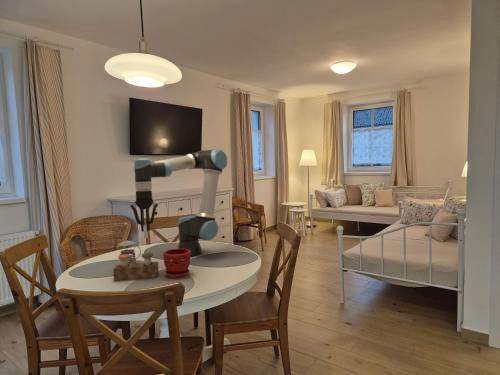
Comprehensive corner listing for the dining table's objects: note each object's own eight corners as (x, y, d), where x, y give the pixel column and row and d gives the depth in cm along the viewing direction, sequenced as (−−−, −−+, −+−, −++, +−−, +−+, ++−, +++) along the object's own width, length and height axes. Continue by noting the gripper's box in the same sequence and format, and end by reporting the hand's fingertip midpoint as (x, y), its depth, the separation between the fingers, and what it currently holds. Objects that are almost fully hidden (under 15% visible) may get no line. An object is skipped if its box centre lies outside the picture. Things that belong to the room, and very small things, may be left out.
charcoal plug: (154, 266, 162) (153, 252, 161) (152, 269, 157) (152, 255, 156) (143, 266, 161) (142, 252, 160) (141, 270, 156) (141, 255, 155)
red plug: (131, 267, 160) (130, 253, 160) (129, 271, 155) (128, 256, 154) (120, 268, 159) (119, 254, 159) (118, 272, 154) (117, 257, 154)
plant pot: (185, 279, 153) (184, 255, 152) (160, 278, 155) (158, 254, 154) (195, 270, 165) (194, 247, 164) (171, 269, 168) (170, 247, 167)
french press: (118, 267, 174) (115, 222, 172) (140, 264, 178) (138, 220, 176) (118, 273, 165) (115, 225, 163) (142, 269, 169) (139, 223, 167)
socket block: (158, 272, 163) (158, 261, 163) (157, 277, 157) (156, 265, 156) (117, 276, 160) (116, 264, 160) (114, 281, 153) (113, 269, 153)
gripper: (128, 191, 151) (130, 240, 153) (156, 190, 153) (158, 238, 155) (131, 190, 159) (133, 237, 160) (158, 189, 161) (160, 235, 162)
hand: (146, 237), depth 158 cm, fingers closed
